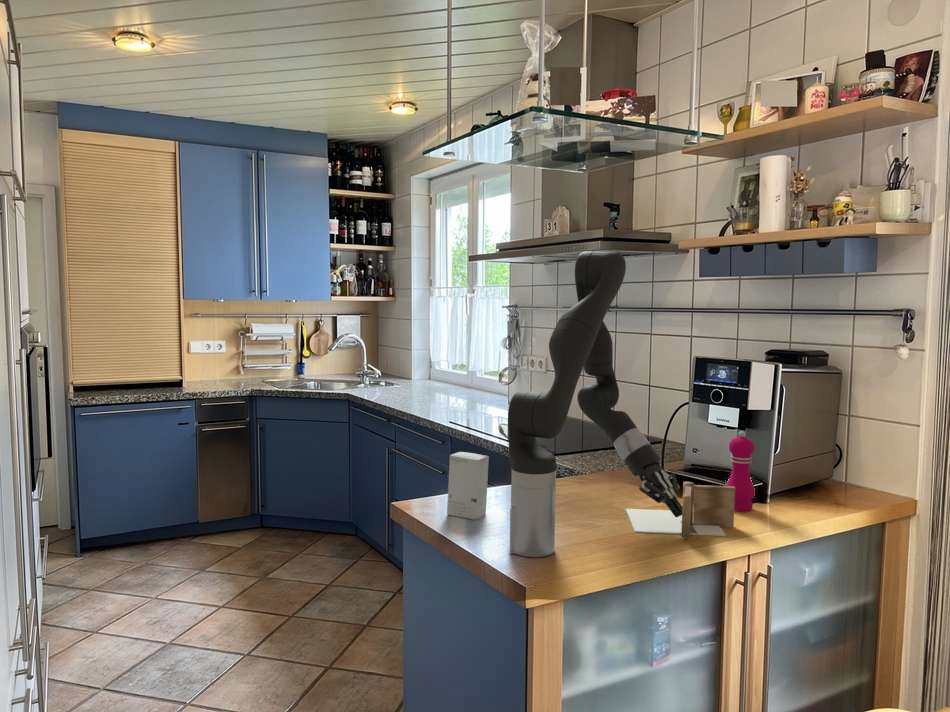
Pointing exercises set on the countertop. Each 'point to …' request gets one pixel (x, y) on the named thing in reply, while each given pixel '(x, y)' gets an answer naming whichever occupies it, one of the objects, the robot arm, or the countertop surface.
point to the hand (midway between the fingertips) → (680, 514)
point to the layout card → (666, 523)
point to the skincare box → (467, 485)
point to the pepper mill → (741, 472)
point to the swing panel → (686, 512)
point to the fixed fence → (712, 504)
